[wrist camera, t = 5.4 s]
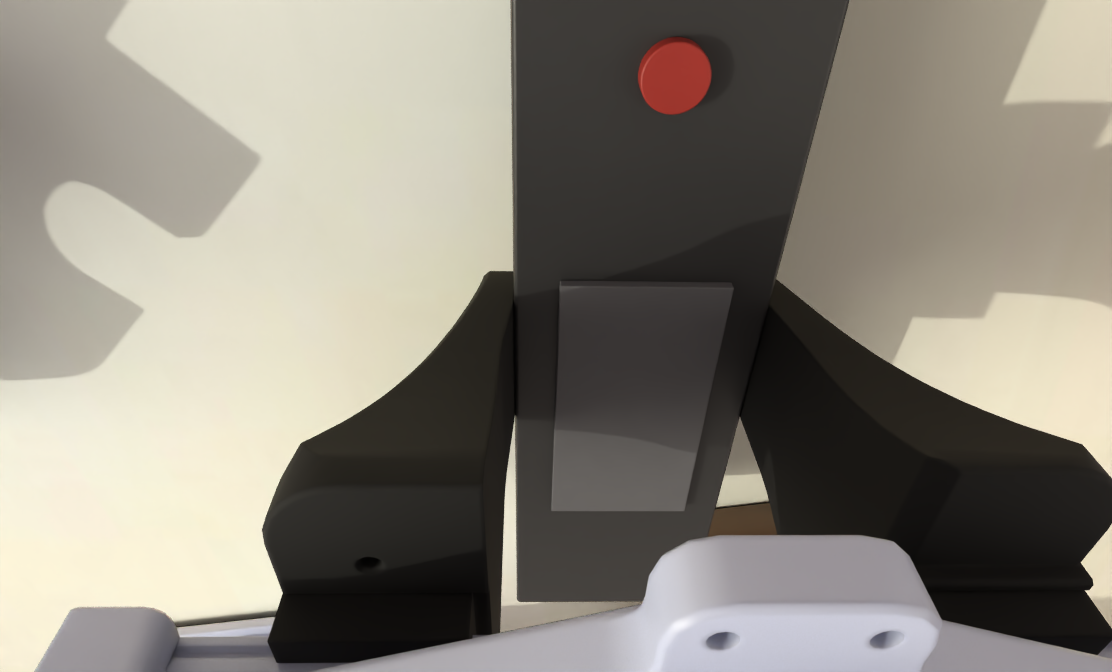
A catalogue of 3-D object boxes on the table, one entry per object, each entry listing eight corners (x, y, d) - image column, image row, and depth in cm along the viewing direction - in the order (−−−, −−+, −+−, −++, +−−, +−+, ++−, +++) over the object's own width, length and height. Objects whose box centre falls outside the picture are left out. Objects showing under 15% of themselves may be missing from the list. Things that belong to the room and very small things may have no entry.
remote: (672, 505, 20) (694, 613, 18) (519, 505, 20) (516, 614, 18) (807, -157, 11) (902, -149, 8) (515, -167, 11) (507, -162, 8)
